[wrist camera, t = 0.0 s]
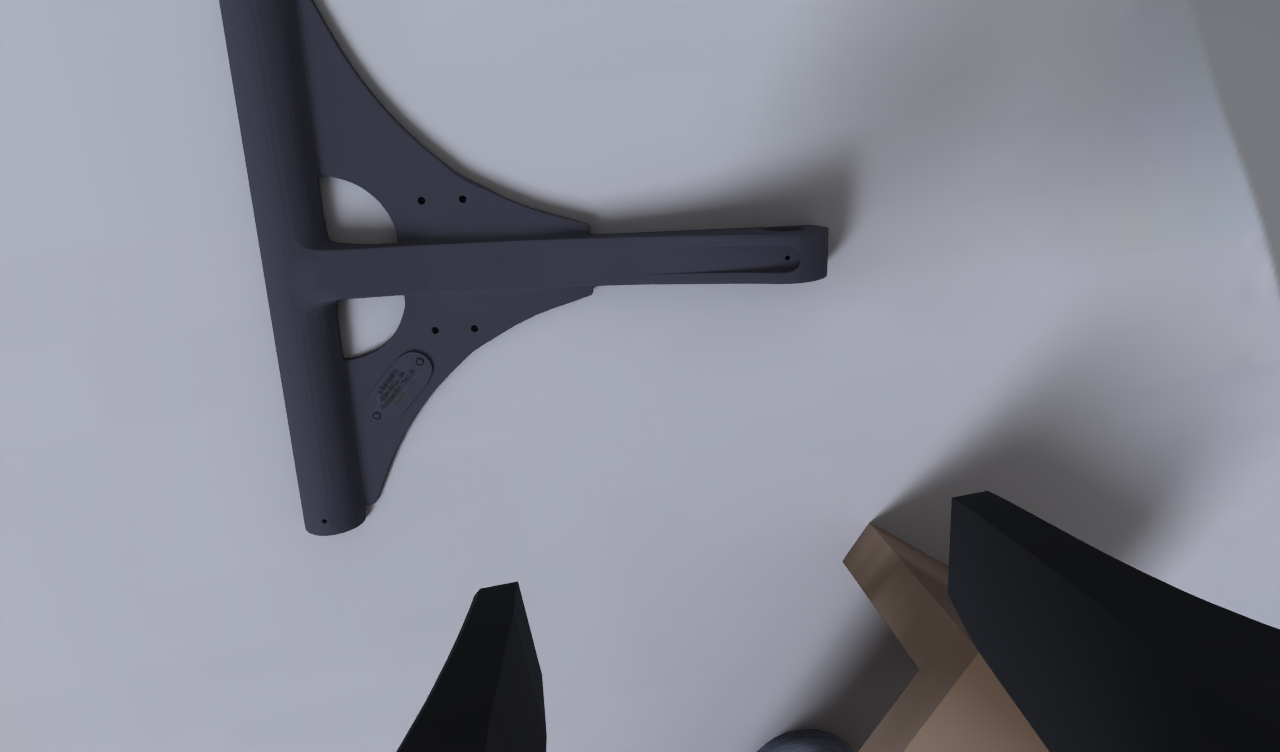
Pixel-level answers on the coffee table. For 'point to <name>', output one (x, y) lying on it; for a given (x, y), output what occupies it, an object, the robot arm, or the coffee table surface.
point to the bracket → (414, 254)
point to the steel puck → (806, 742)
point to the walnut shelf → (934, 659)
